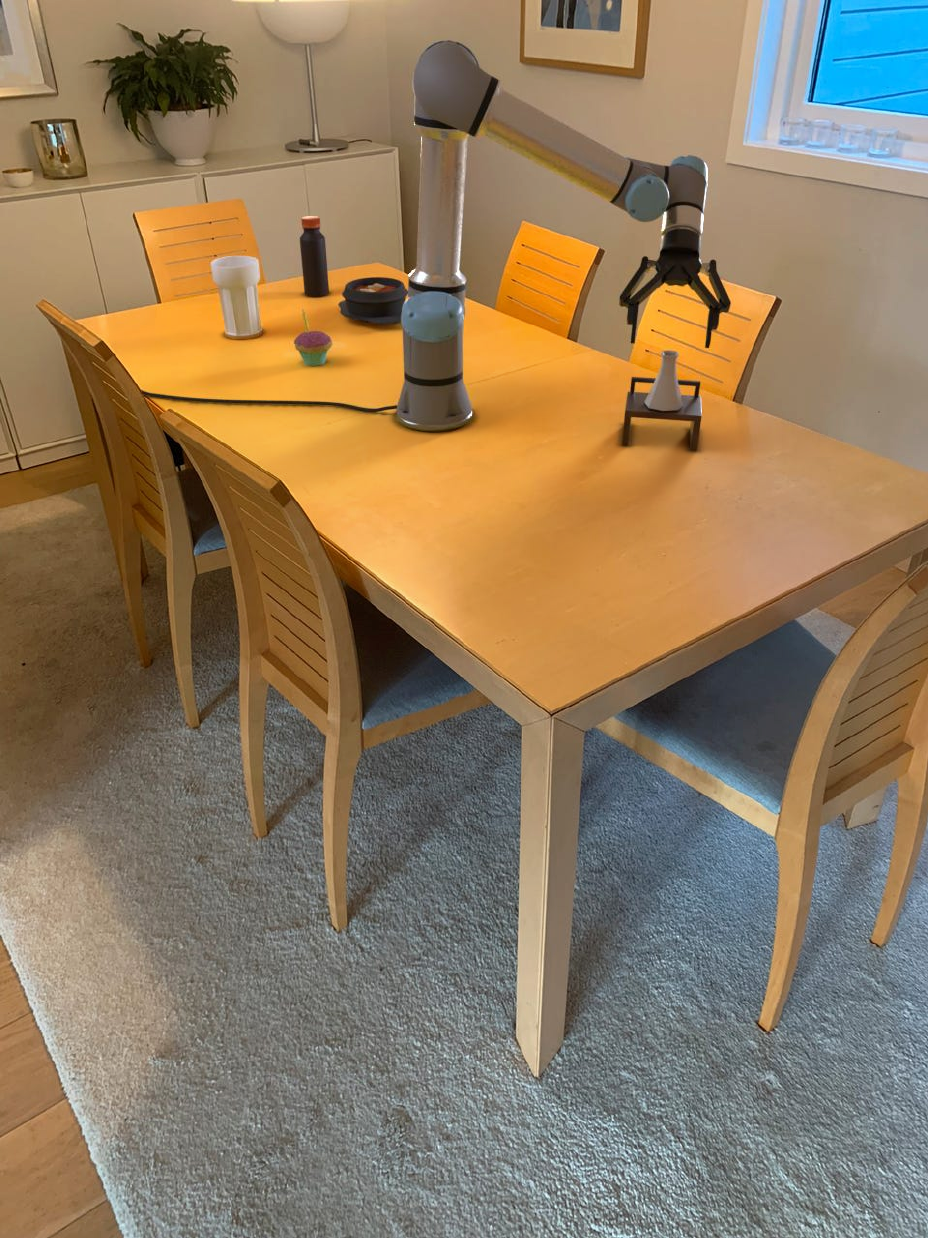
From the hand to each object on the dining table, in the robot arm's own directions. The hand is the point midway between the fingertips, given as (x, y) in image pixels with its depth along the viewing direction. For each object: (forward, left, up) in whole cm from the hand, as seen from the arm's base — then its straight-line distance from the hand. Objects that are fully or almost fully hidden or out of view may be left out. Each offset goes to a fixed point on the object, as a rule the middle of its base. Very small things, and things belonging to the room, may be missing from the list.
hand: (670, 342), depth 178 cm
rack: (0, -2, -18) cm, 18 cm away
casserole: (-74, +63, -18) cm, 99 cm away
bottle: (-96, +81, -18) cm, 127 cm away
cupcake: (-79, +27, -18) cm, 86 cm away
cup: (-103, +44, -18) cm, 114 cm away
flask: (0, -2, -11) cm, 12 cm away
